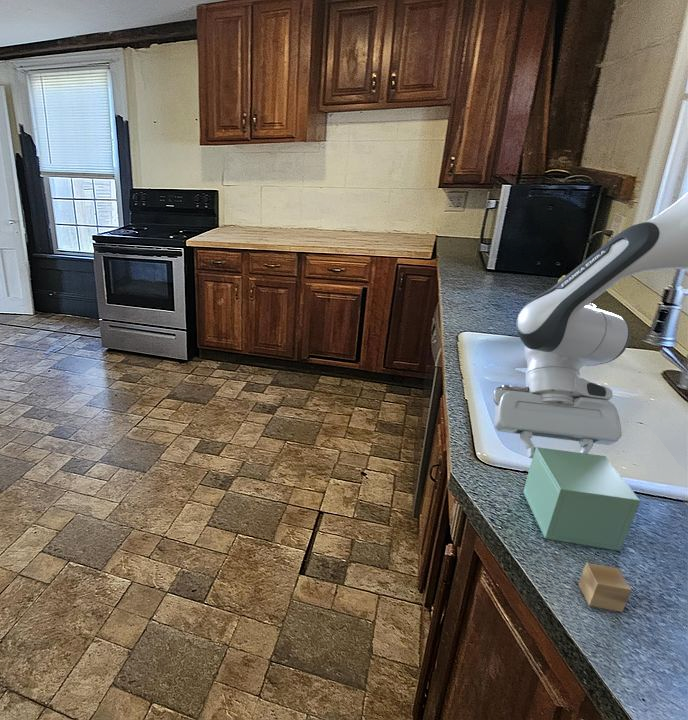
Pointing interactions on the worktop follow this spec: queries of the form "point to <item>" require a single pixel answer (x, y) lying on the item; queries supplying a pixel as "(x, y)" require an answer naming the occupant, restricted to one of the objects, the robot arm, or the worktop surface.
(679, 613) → the worktop surface
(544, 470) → the mint green box
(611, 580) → the cube
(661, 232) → the robot arm
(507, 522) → the worktop surface
